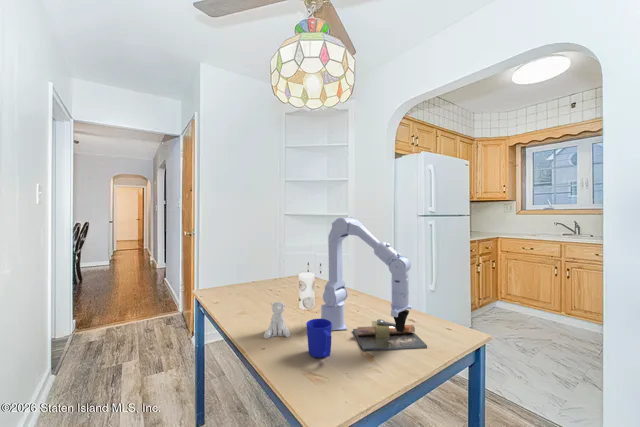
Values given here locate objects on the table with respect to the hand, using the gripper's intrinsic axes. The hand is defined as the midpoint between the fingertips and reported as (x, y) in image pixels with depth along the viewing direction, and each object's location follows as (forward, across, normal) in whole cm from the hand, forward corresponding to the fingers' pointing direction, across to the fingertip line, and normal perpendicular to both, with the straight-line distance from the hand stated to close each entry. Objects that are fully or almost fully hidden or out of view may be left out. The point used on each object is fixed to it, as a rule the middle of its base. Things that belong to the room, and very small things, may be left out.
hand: (400, 331), depth 100 cm
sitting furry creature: (+5, -15, +43) cm, 45 cm away
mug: (+5, -21, +19) cm, 29 cm away
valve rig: (+4, +2, +5) cm, 7 cm away
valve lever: (0, +2, +3) cm, 4 cm away
